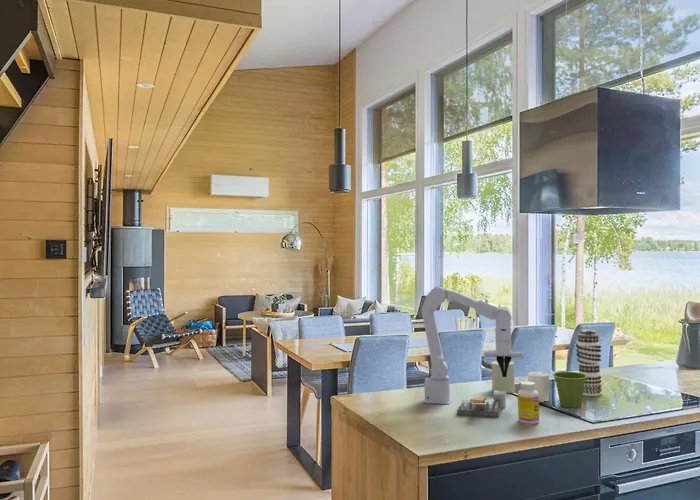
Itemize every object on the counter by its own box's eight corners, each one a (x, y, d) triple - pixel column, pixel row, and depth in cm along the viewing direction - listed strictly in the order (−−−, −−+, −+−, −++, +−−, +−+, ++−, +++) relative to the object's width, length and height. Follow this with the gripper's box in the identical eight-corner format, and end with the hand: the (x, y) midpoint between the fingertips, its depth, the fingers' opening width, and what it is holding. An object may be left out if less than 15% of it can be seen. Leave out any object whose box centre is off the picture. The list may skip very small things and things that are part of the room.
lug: (493, 408, 205) (493, 393, 206) (494, 405, 210) (494, 390, 210) (505, 409, 204) (504, 394, 204) (506, 405, 209) (505, 391, 209)
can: (518, 389, 234) (517, 360, 234) (511, 394, 226) (510, 364, 227) (496, 387, 239) (495, 358, 239) (488, 392, 231) (487, 362, 232)
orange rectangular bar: (470, 404, 194) (470, 399, 194) (475, 401, 209) (475, 396, 209) (482, 404, 193) (482, 400, 193) (486, 401, 207) (486, 397, 208)
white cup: (551, 403, 211) (550, 376, 212) (529, 402, 213) (528, 375, 213) (548, 397, 219) (547, 372, 219) (527, 397, 221) (526, 371, 221)
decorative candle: (590, 397, 218) (588, 332, 218) (572, 392, 226) (570, 329, 227) (608, 394, 222) (605, 330, 222) (589, 389, 230) (587, 328, 231)
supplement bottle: (536, 425, 184) (535, 385, 184) (516, 423, 188) (514, 384, 188) (541, 420, 190) (540, 381, 190) (521, 417, 193) (520, 380, 193)
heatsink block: (457, 415, 198) (457, 404, 198) (461, 408, 208) (460, 397, 208) (498, 417, 194) (498, 406, 194) (500, 410, 203) (500, 399, 203)
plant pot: (548, 406, 206) (547, 375, 207) (561, 400, 215) (560, 370, 215) (581, 411, 198) (579, 379, 199) (593, 404, 207) (592, 374, 207)
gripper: (482, 341, 212) (483, 378, 212) (523, 342, 208) (524, 379, 207) (484, 338, 219) (485, 374, 219) (523, 339, 214) (524, 375, 214)
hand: (504, 376), depth 213 cm, fingers closed
